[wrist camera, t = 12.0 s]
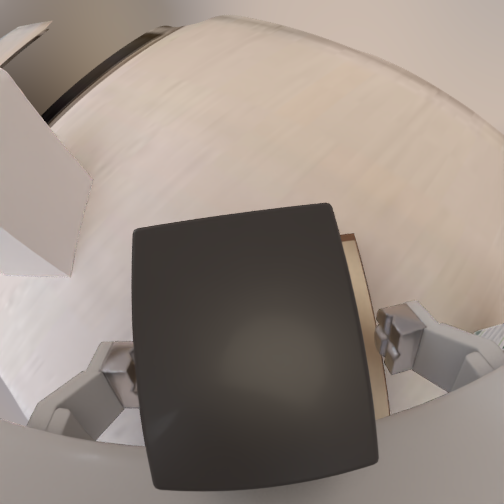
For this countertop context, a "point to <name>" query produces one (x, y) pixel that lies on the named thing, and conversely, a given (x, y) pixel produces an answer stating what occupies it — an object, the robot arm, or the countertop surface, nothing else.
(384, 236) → the countertop surface
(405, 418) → the robot arm
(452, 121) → the countertop surface
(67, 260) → the milk
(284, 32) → the countertop surface
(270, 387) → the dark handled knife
